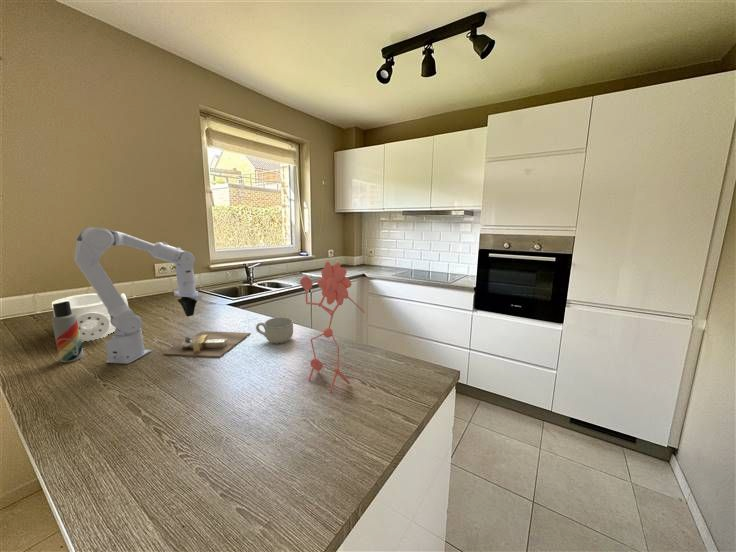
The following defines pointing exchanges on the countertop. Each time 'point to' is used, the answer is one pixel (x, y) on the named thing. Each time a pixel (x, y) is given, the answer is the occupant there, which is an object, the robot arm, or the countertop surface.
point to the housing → (90, 315)
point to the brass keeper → (199, 344)
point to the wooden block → (204, 343)
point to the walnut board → (232, 341)
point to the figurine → (332, 289)
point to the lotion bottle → (66, 333)
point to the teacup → (277, 329)
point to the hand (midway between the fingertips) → (189, 315)
